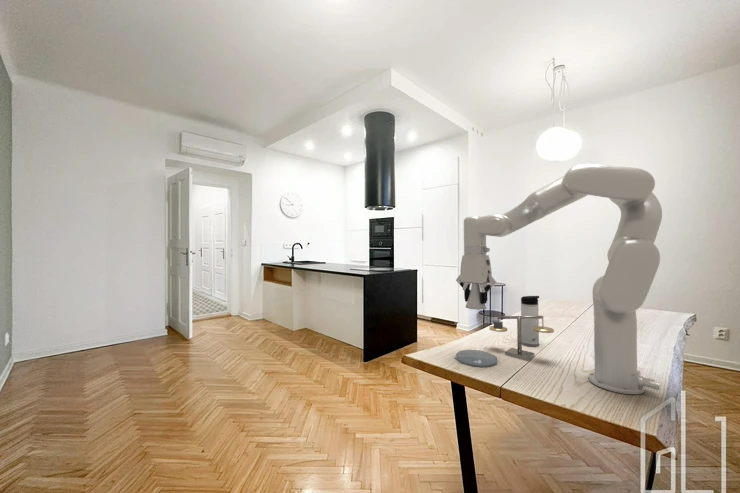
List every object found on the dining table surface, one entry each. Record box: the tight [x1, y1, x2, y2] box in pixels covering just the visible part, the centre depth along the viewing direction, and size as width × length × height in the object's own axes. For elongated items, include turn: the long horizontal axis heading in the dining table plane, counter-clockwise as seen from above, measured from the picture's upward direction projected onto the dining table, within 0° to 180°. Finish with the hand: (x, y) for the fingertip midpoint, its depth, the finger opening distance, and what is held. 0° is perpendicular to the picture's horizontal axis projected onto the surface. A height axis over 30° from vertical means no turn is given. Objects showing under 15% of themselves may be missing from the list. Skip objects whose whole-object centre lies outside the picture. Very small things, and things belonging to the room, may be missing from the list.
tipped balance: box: [488, 315, 555, 361], centre depth 109 cm, size 22×6×16 cm, turn 42°
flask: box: [465, 283, 487, 310], centre depth 106 cm, size 7×7×10 cm
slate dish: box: [455, 349, 499, 368], centre depth 106 cm, size 14×14×1 cm
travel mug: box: [520, 295, 540, 348], centre depth 121 cm, size 6×7×20 cm
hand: (475, 301), depth 106 cm, fingers closed on flask, 5 cm apart
